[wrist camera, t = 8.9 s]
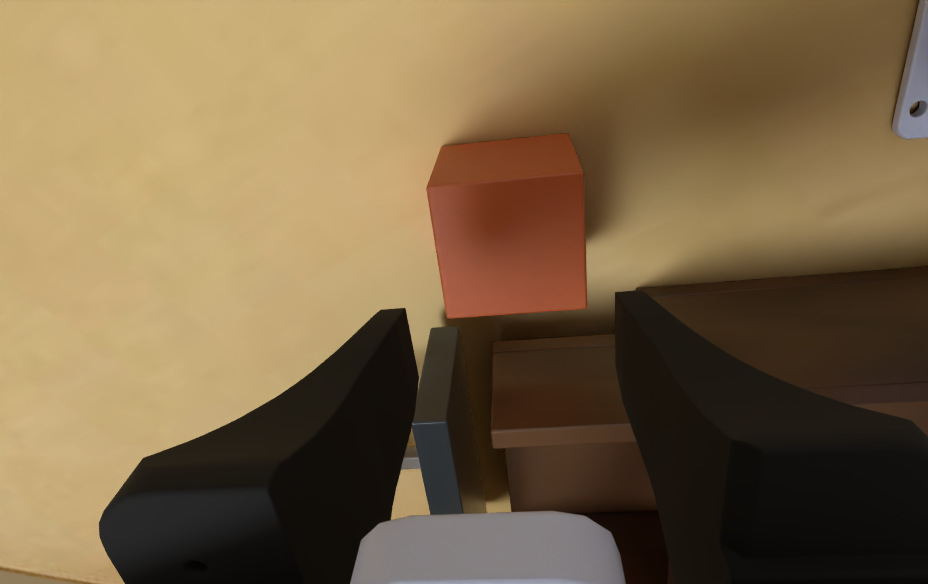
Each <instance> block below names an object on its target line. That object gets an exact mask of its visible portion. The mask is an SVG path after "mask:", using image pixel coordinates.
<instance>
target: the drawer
mask: <svg viewBox="0 0 928 584" xmlns="http://www.w3.org/2000/svg"><path fill="white" fill-rule="evenodd" d="M412 430H413V434H414V439H415V444H416V447H406V451H405V455H404V459H403V463H402V467H401V469H421V472H422V477H423V481H424V486H425V491H426V496H427V500H428V505H429V510H430V514H431V515H443V514H471V513H487V510H486V503H485V497H484V490H483V483H482V476H481V469H480V463H479V456H478V449H477V442H476V435H475V429H474V422H473V415H472V408H471V401H470V395H469V388H468V381H467V374H466V367H465V361H464V354H463V347H462V340H461V333H460V328H459V326H451V327H437V328H431V330H430V335H429V340H428V345H427V349H426V354H425V359H424V364H423V369H422V373H421V378H420V383H419V388H418V393H417V401H416V409H415V415H414V419H413V423H412ZM490 433H491V441H492V446H493V448H495V449H496V448H504V452H505V461H506V469H507V477H508V486H509V494H510V503H511V511H512V512H529V511H557V512H564V513H571V514H578V515H583V516H586V517H588V518H589V519H591V520H592V521H594V522H596V523H597V524H599V525H600V526H602V527H603V528H605V529H607V530H608V531H610V532H611V534H612V536H613V538H614V541H615V543H616V546H617V548H618V551H619V553H620V557H621V562H622V568H623V573H624V578H625V583H626V584H667V580H668V565H669V557H668V552H667V547H666V543H665V538H664V534H663V529H662V525H661V521H660V517H659V512H658V508H657V504H656V499H655V495H654V492H653V489H652V485H651V482H650V479H649V476H648V473H647V470H646V467H645V464H644V461H643V459H642V456H641V453H640V450H639V447H638V444H637V442H636V439H635V436H634V433H633V430H632V427H631V425H630V422H629V419H628V416H627V413H626V410H625V407H624V404H623V401H622V397H621V392H620V387H619V382H618V377H617V372H616V367H615V334H605V335H590V336H575V337H560V338H545V339H531V340H516V341H501V342H493V365H492V396H491V427H490Z"/></svg>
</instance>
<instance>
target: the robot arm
mask: <svg viewBox="0 0 928 584" xmlns="http://www.w3.org/2000/svg"><path fill="white" fill-rule="evenodd" d="M918 101H919V102H920V106H919V108H918V110H917V111H916V112H915V113H913V114H910V111H909V110H910V108H911V106H912V105H913V104H914V103H915V102H918ZM892 130H893V132H894V134H896V135H897V136H899V137H901V138H904V139H918V138H928V0H920V1H919V5H918V10H917V14H916V19H915V23H914V28H913V32H912V37H911V41H910V46H909V50H908V55H907V59H906V64H905V68H904V73H903V78H902V82H901V87H900V91H899V96H898V100H897V105H896V109H895V114H894V118H893V123H892ZM615 367H616V372H617V377H618V382H619V387H620V392H621V397H622V401H623V404H624V407H625V410H626V413H627V416H628V419H629V422H630V425H631V427H632V430H633V433H634V436H635V439H636V442H637V444H638V447H639V450H640V453H641V456H642V459H643V461H644V464H645V467H646V470H647V473H648V476H649V479H650V482H651V485H652V489H653V492H654V495H655V499H656V504H657V508H658V512H659V517H660V521H661V525H662V529H663V534H664V538H665V543H666V547H667V552H668V557H669V561H670V566H671V570H672V575H673V580H674V584H928V436H927V435H926V434H925V433H924V432H923V431H922V430H921V429H920V428H919V427H918V426H917V425H916V424H915V423H914V422H913V421H912V420H909V419H905V418H901V417H897V416H893V415H889V414H885V413H881V412H877V411H873V410H869V409H865V408H861V407H857V406H853V405H850V404H847V403H844V402H841V401H837V400H834V399H831V398H828V397H825V396H822V395H819V394H816V393H813V392H811V391H808V390H805V389H803V388H800V387H797V386H795V385H793V384H790V383H788V382H785V381H783V380H781V379H778V378H776V377H774V376H771V375H769V374H767V373H765V372H763V371H761V370H758V369H756V368H755V367H753V366H751V365H749V364H747V363H745V362H743V361H741V360H739V359H738V358H736V357H734V356H732V355H730V354H729V353H727V352H725V351H724V350H722V349H720V348H719V347H717V346H716V345H714V344H713V343H711V342H710V341H708V340H706V339H705V338H703V337H702V336H700V335H699V334H698V333H696V332H695V331H693V330H692V329H691V328H689V327H688V326H687V325H685V324H684V323H683V322H681V321H680V320H679V319H677V318H676V317H675V316H674V315H672V314H671V313H670V312H669V311H667V310H666V309H665V308H664V307H662V306H661V305H660V304H659V303H658V302H656V301H655V300H654V299H653V298H652V297H650V296H649V295H648V294H647V293H645V292H644V291H643V290H638V291H625V292H615ZM418 381H419V376H418V370H417V365H416V360H415V355H414V350H413V345H412V340H411V335H410V329H409V324H408V319H407V314H406V309H405V308H399V309H386V310H380V311H379V312H377V313H376V314H375V315H374V316H373V317H372V318H371V319H370V320H369V321H368V322H367V323H366V324H365V325H364V326H363V327H361V328H360V329H359V330H358V331H357V332H356V333H355V334H354V335H353V336H352V337H351V338H350V339H349V340H348V341H347V342H346V343H345V344H344V345H342V346H341V347H340V348H339V349H338V350H337V351H336V352H335V353H334V354H332V355H331V356H330V357H329V358H328V359H326V360H325V361H324V362H323V363H322V364H320V365H319V366H318V367H317V368H316V369H315V370H313V371H312V372H311V373H310V374H308V375H307V376H306V377H304V378H303V379H302V380H300V381H299V382H298V383H296V384H295V385H293V386H292V387H290V388H289V389H288V390H286V391H285V392H283V393H282V394H280V395H279V396H277V397H275V398H274V399H272V400H270V401H269V402H267V403H265V404H263V405H262V406H260V407H258V408H256V409H255V410H253V411H251V412H250V413H248V414H246V415H244V416H243V417H241V418H239V419H237V420H235V421H233V422H231V423H229V424H227V425H225V426H223V427H220V428H218V429H216V430H214V431H212V432H209V433H207V434H205V435H203V436H200V437H198V438H196V439H193V440H191V441H188V442H186V443H183V444H180V445H178V446H175V447H172V448H170V449H167V450H164V451H162V452H159V453H156V454H154V455H151V456H148V457H145V458H143V459H142V460H141V462H140V463H139V464H138V466H137V467H136V468H135V470H134V471H133V472H132V474H131V475H130V476H129V478H128V479H127V480H126V482H125V483H124V484H123V486H122V487H121V489H120V490H119V491H118V493H117V494H116V495H115V497H114V498H113V499H112V501H111V502H110V503H109V505H108V506H107V507H106V509H105V510H104V512H103V514H102V517H101V519H100V522H99V534H100V539H101V541H102V544H103V546H104V548H105V551H106V553H107V555H108V557H109V558H110V560H111V561H112V563H113V565H114V566H115V568H116V570H117V571H118V573H119V574H120V576H121V578H122V579H123V581H124V583H125V584H626V583H625V578H624V573H623V568H622V562H621V557H620V553H619V551H618V548H617V546H616V543H615V541H614V538H613V536H612V534H611V532H610V531H608V530H607V529H605V528H603V527H602V526H600V525H599V524H597V523H596V522H594V521H592V520H591V519H589V518H588V517H586V516H583V515H578V514H571V513H564V512H557V511H529V512H500V513H471V514H443V515H414V516H407V517H403V518H399V519H395V520H391V513H392V506H393V501H394V496H395V491H396V487H397V483H398V479H399V475H400V471H401V467H402V463H403V459H404V455H405V451H406V447H407V444H408V440H409V436H410V432H411V428H412V423H413V419H414V415H415V409H416V401H417V391H418Z"/></svg>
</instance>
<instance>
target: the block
mask: <svg viewBox="0 0 928 584" xmlns="http://www.w3.org/2000/svg"><path fill="white" fill-rule="evenodd" d="M426 189H427V196H428V202H429V208H430V215H431V221H432V227H433V234H434V240H435V246H436V253H437V259H438V265H439V272H440V278H441V284H442V291H443V297H444V303H445V310H446V316H447V318H448V319H453V318H466V317H480V316H494V315H508V314H522V313H535V312H549V311H563V310H577V309H586V308H587V275H586V236H585V196H584V172H583V170H582V167H581V164H580V162H579V159H578V157H577V154H576V152H575V149H574V146H573V144H572V141H571V139H570V136H569V134H568V133H563V134H553V135H544V136H534V137H525V138H516V139H506V140H497V141H487V142H478V143H468V144H459V145H449V146H442V147H441V149H440V152H439V155H438V157H437V160H436V163H435V166H434V169H433V171H432V174H431V177H430V180H429V182H428V185H427V188H426Z"/></svg>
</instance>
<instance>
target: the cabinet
mask: <svg viewBox="0 0 928 584" xmlns="http://www.w3.org/2000/svg"><path fill="white" fill-rule="evenodd" d="M638 290H643V291H644V292H645V293H647V294H648V295H649V296H650V297H652V298H653V299H654V300H655V301H656V302H658V303H659V304H660V305H661V306H662V307H664V308H665V309H666V310H667V311H669V312H670V313H671V314H672V315H674V316H675V317H676V318H677V319H679V320H680V321H681V322H683V323H684V324H685V325H687V326H688V327H689V328H691V329H692V330H693V331H695V332H696V333H698V334H699V335H700V336H702V337H703V338H705V339H706V340H708V341H710V342H711V343H713V344H714V345H716V346H717V347H719V348H720V349H722V350H724V351H725V352H727V353H729V354H730V355H732V356H734V357H736V358H738V359H739V360H741V361H743V362H745V363H747V364H749V365H751V366H753V367H755V368H756V369H758V370H761V371H763V372H765V373H767V374H769V375H771V376H774V377H776V378H778V379H781V380H783V381H785V382H788V383H790V384H793V385H795V386H797V387H800V388H803V389H805V390H808V391H811V392H813V393H816V394H819V395H822V396H825V397H828V398H831V399H834V400H837V401H841V402H844V403H847V404H850V405H853V406H857V407H861V408H865V409H869V410H873V411H877V412H881V413H885V414H889V415H893V416H897V417H901V418H905V419H909V420H912V421H913V422H914V423H915V424H916V425H917V426H918V427H919V428H920V429H921V430H922V431H923V432H924V433H925V434H926V435H927V436H928V267H915V268H902V269H888V270H875V271H862V272H849V273H836V274H822V275H809V276H796V277H783V278H769V279H756V280H743V281H730V282H717V283H703V284H690V285H677V286H664V287H650V288H637V289H636V290H635V291H638ZM667 584H674V580H673V575H672V570H671V566H670V561H669V565H668V580H667Z"/></svg>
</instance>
